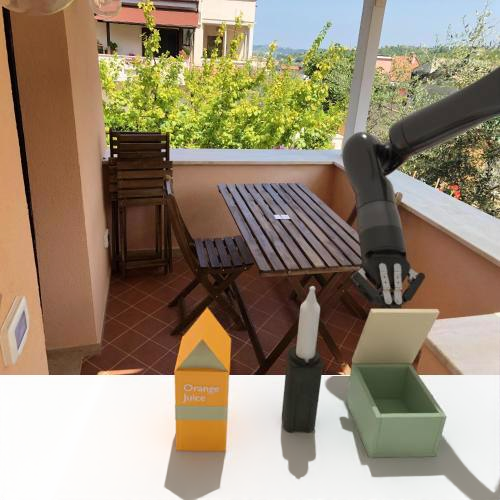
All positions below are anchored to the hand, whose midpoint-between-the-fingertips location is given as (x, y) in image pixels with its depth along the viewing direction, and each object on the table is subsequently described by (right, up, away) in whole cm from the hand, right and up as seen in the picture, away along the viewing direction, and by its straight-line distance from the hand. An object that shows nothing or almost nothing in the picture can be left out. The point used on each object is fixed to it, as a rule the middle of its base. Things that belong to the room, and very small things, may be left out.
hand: (394, 328), depth 69 cm
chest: (-1, -17, +2) cm, 17 cm away
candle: (-15, -16, +2) cm, 22 cm away
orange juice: (-31, -16, 0) cm, 35 cm away
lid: (0, -2, 0) cm, 2 cm away
